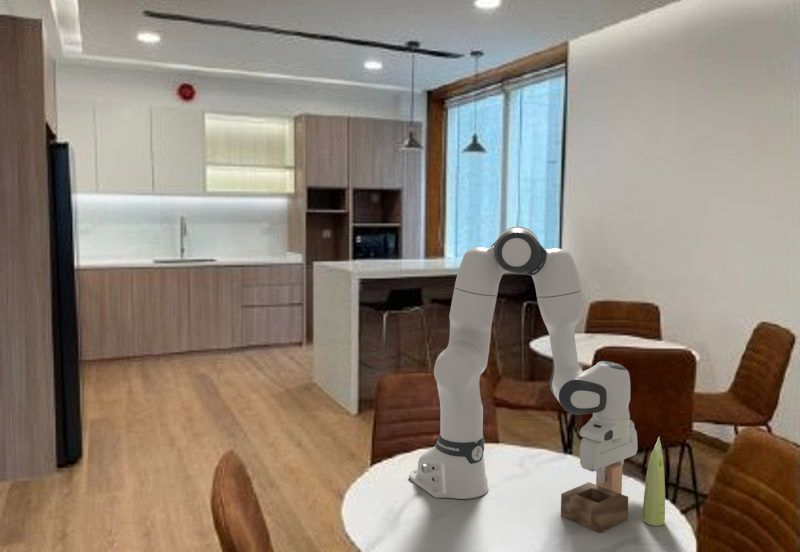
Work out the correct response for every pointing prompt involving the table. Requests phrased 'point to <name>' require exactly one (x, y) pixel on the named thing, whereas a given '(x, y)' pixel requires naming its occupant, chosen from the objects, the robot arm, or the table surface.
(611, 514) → the socket block
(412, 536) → the table surface
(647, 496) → the tube
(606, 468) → the peg
